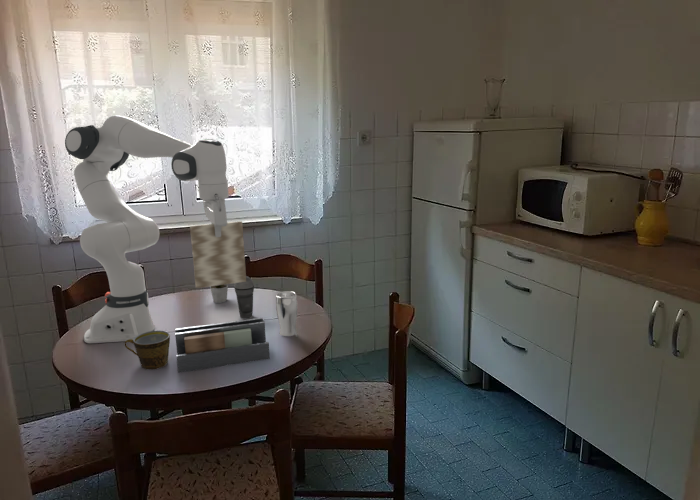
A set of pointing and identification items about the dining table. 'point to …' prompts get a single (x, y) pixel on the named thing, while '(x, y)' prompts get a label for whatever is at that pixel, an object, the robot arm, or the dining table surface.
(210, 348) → the walnut offcut
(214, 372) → the dining table surface
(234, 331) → the sage offcut
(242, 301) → the beverage cup
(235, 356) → the offcut rack
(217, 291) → the house plant
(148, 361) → the ceramic cup
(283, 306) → the silver metal cylinder
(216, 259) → the beige brown zigzag panel
